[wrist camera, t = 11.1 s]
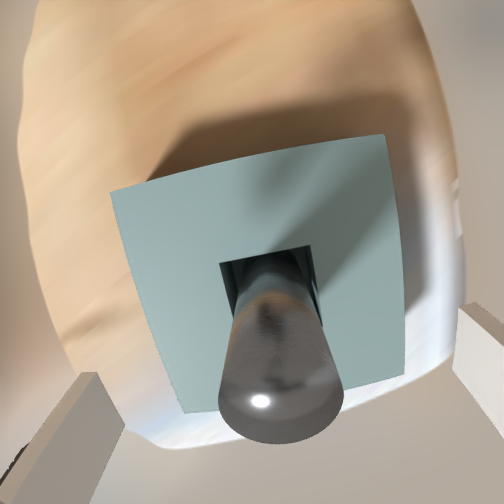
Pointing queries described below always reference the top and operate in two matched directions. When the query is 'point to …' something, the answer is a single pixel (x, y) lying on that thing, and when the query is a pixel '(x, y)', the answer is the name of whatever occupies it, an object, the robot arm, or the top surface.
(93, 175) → the top surface
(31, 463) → the robot arm
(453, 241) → the top surface
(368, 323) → the bore block
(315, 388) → the pin
